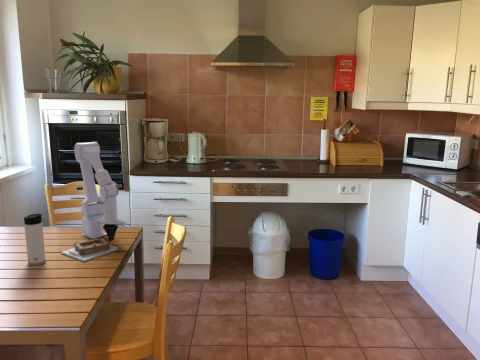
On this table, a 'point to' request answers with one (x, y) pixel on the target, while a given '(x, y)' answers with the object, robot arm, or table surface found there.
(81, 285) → the table surface
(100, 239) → the frame
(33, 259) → the travel mug
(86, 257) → the wall board
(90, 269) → the table surface
